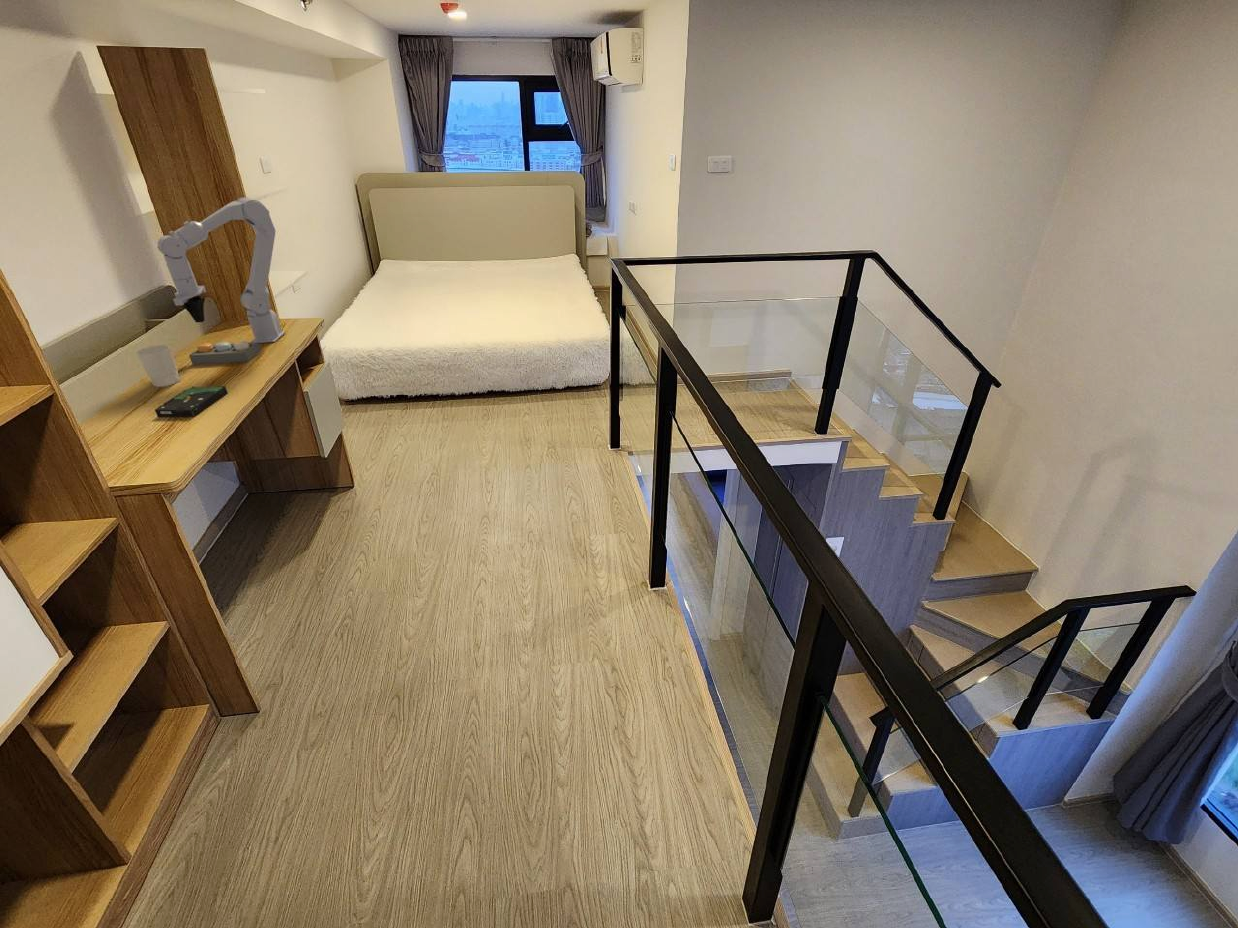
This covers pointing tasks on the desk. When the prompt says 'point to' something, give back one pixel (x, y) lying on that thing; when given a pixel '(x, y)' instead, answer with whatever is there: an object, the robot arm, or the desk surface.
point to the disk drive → (191, 401)
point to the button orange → (205, 347)
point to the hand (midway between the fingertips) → (200, 321)
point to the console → (225, 355)
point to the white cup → (159, 365)
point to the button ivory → (241, 345)
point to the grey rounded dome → (223, 346)
